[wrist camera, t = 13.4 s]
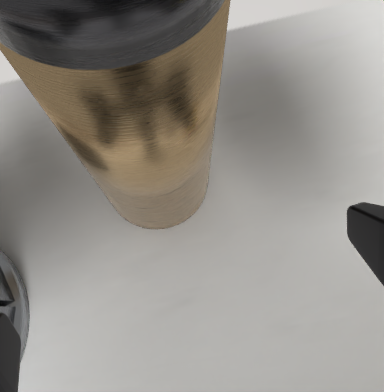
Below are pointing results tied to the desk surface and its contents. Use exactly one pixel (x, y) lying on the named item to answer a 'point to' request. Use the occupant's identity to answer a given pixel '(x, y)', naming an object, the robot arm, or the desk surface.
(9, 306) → the sleeve
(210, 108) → the canister
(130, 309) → the desk surface
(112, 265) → the desk surface
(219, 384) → the desk surface
